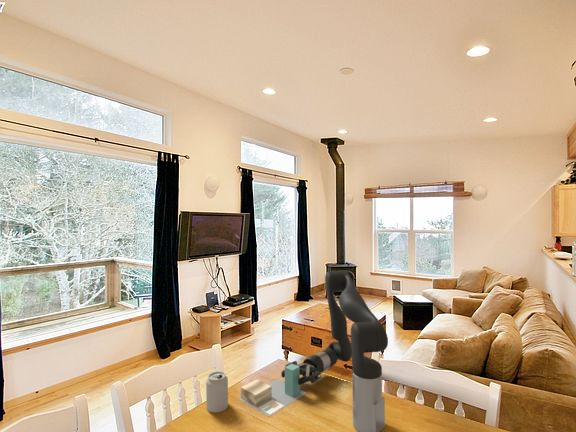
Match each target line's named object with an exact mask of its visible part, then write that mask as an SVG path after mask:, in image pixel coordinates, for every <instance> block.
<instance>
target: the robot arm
mask: <svg viewBox="0 0 576 432" xmlns="http://www.w3.org/2000/svg"><path fill="white" fill-rule="evenodd" d="M324 284H325V293H326V297H327V298H326V299H327V305H328V310H329V317H330V330H331V333H330V334H331V337H332V338H333V339H334V340H335V341H332V342H329V344H328V345H327V346H326V348H325V349H324V350H321V351H320V352H316V353H314V354H312V355H309V357H307V358H305V359H304V360H303V362H302V363H298V361H297V360H294V361H292V362H289V363H287V364H285V366H284V368H285V367H286V366H288V365H290V364H294V365H297V366H299V367H300V378H299V379H298V385H300V386H301V385H305V384H306V383H309V382H310V384H314V383H316V382H317V381H319V380H321V378H322V374H323V373H324V372H326V371H327V370H328V369H330V368H331V367H333V366H335V365H336V364H337V361H342V362H345V363H346V362H349V361H350V360H351V364H352V425H353V428H354V429H355V430H357V431H358V432H381V431H382V430H383V429H384V428H385V427H386V410H385V408H386V403H385V402H386V399H385V397H384V396H383V374H382V373H383V368H382V364H381V363H380V362H379V361H378V360H376V359H374V358H370V357H368V356H365V354H366V353H380V352H383V351H385V350H386V349H387V348H388V346H389V338H388V335H387V332H386V328H385V327H384V325H383V323H382V322H381V321H380V320H379V319H378V318H377V317H376V316H375V315H374V313H373V312H372V311H371V309H370V308H369V306H368V304H367V303H366V301H365V299H364V298H363V296H362V295H361V294H360V292H359V290H358V289H357V287H356V285H355V283H354V281H353V279H352V277H351V275H350V273H349V272H348V271H347V270H331V271H327V272H326V273H325V276H324ZM340 292H341V294H340V295H339V298H338V302H337V301H336V299H335V294H334V293H340ZM347 319H348V320H350V321H351V322H352V325H351V328H350V338H349V335H348V334H349V333H348V320H347ZM280 374H281V378H284V379H285V369H283V370H281V373H280Z"/></svg>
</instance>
